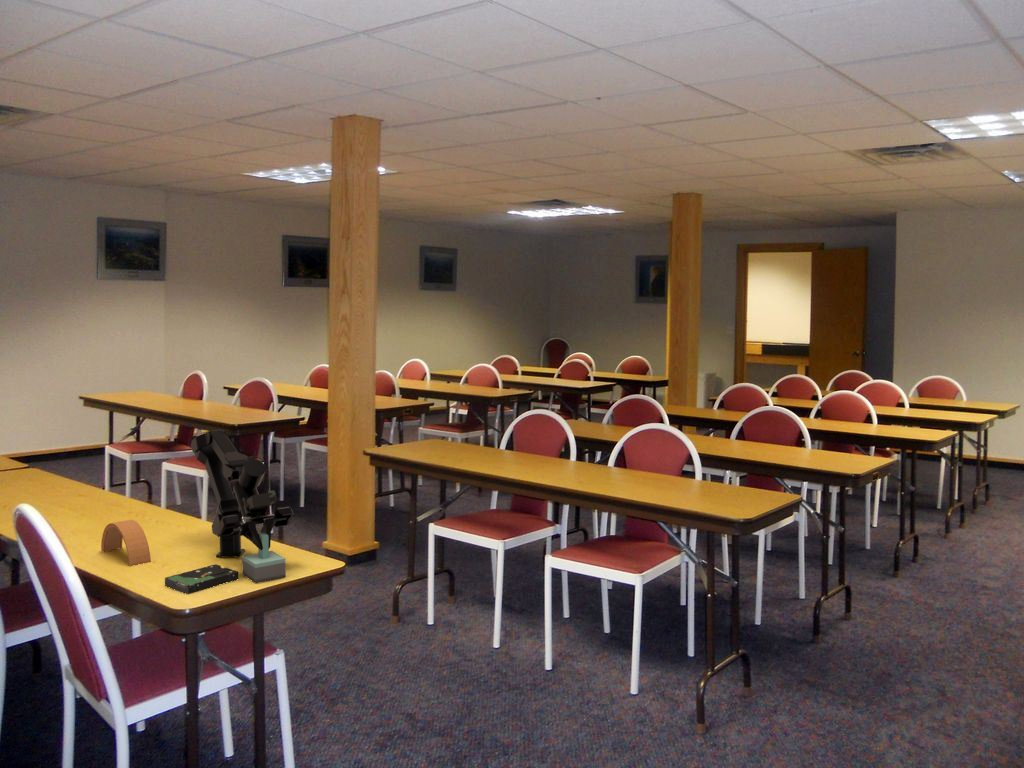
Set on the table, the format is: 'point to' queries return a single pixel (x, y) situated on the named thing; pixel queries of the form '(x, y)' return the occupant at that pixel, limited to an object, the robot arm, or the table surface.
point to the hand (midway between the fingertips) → (265, 548)
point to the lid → (263, 555)
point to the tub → (264, 572)
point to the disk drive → (201, 578)
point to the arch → (127, 540)
